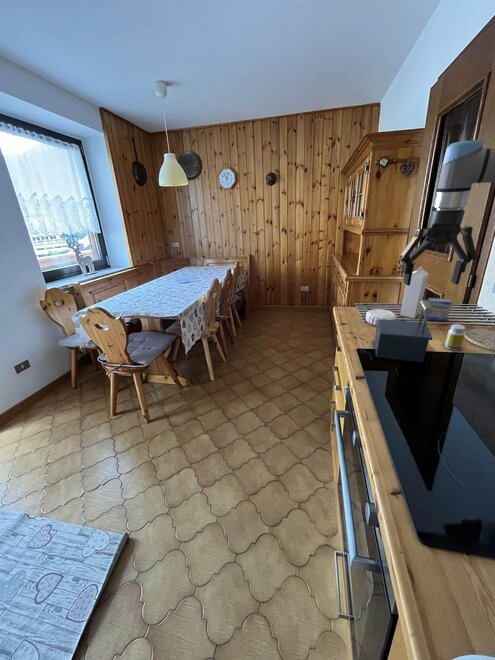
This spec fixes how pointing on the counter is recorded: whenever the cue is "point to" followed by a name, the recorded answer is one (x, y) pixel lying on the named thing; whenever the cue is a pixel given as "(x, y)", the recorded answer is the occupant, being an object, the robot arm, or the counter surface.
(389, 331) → the compartment lid
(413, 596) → the counter surface
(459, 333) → the supplement bottle
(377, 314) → the mooncake
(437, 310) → the medicine box
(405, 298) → the milk
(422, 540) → the counter surface
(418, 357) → the compartment
